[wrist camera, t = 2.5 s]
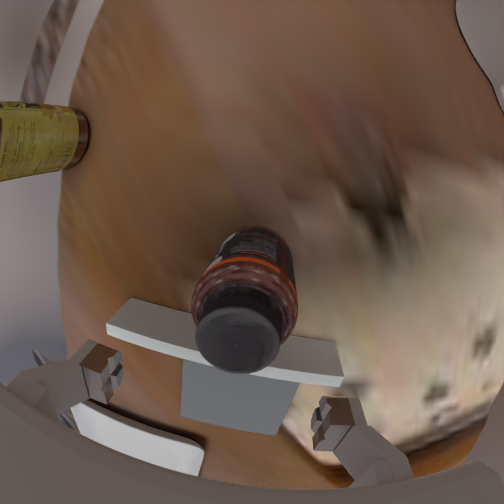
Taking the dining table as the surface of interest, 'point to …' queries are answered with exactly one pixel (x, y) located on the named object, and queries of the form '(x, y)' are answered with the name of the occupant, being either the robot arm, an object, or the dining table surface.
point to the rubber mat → (234, 398)
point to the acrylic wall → (184, 346)
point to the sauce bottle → (39, 138)
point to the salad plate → (138, 439)
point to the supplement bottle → (245, 302)
